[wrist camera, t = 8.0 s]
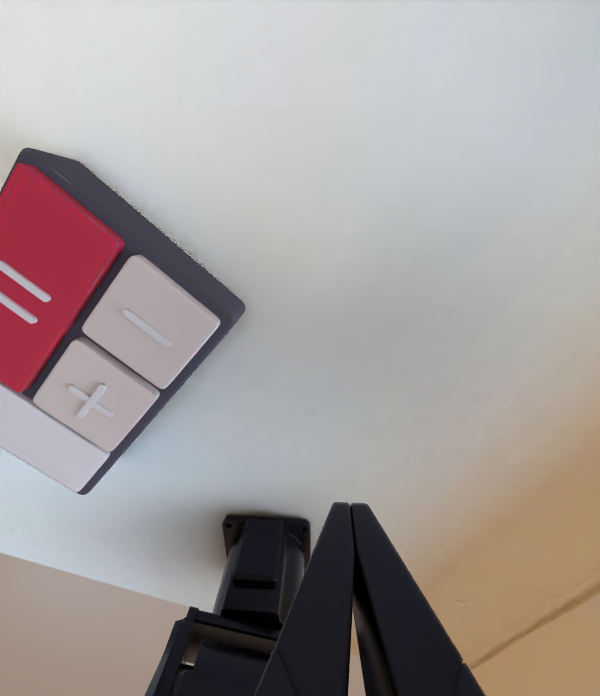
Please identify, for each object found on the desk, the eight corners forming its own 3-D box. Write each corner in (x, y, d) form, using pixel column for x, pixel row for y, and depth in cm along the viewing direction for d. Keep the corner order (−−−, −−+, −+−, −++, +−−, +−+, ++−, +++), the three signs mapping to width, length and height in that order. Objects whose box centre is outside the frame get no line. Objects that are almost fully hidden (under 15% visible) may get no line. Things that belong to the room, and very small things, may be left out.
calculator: (234, 325, 15) (74, 509, 19) (251, 304, 19) (116, 459, 23) (6, 135, 12) (-118, 393, 17) (81, 158, 16) (-34, 360, 21)
